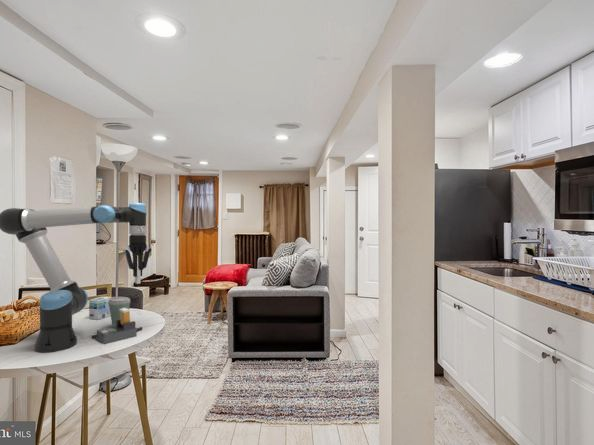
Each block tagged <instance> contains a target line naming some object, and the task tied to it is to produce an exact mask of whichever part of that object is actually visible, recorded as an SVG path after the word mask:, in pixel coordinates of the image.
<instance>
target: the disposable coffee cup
mask: <svg viewBox="0 0 594 445" xmlns="http://www.w3.org/2000/svg"><path fill="white" fill-rule="evenodd" d="M111 297H112V298H110V299H109V301H108V304H109V309H110V315H111V316H110V319H111V326H112V327H116V320H120V310H119V309H122V308H127V309H129V310H130V306H131V298H130V297H126V296H111Z"/></svg>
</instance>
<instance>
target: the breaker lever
mask: <svg viewBox="0 0 594 445" xmlns="http://www.w3.org/2000/svg"><path fill="white" fill-rule="evenodd" d="M119 310H120V322H121V324H122V326H123V323H127V322H131V318H130V317H131V315H130V311H131V310H130V308H129V309H127V308H122V309H119Z"/></svg>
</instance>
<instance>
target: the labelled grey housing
mask: <svg viewBox="0 0 594 445" xmlns="http://www.w3.org/2000/svg"><path fill="white" fill-rule="evenodd" d="M137 328H138V327H136V321H135V320H134V321H133V320H132V321H130V322H127V323H123V326H122V324H121V322H120V320H116V327H113V326H112V327H111V326H110V327H107V328H103V329H98V330H96V334H95V335H96V338H95V339H96V340H97V341H99V342H100V343H101V344H102V343H103V344H104V345H107V344H111V343H115V342H118V341H124V340H128V339H131V338H132V339H133V338H135V337H137V335H138V334H137V332H138V331H137Z"/></svg>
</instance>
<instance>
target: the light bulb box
mask: <svg viewBox="0 0 594 445" xmlns="http://www.w3.org/2000/svg"><path fill="white" fill-rule="evenodd" d="M112 297H113V296H100V297H95V298H92V299H88V304H89V307H88V309H89V310H88V315H89V317H88V319H90V320H96V321H97V320H98V321H99V320H102V319H105V318H108V317H109V318H110V317H111V315H110V309H109V304H108V301H109V299H110V298H112Z"/></svg>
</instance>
